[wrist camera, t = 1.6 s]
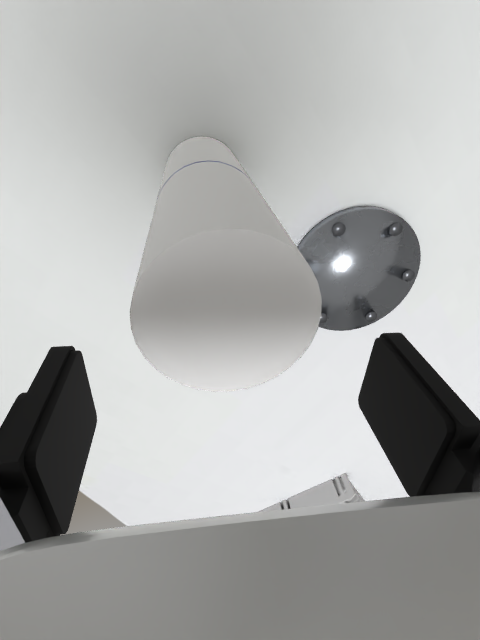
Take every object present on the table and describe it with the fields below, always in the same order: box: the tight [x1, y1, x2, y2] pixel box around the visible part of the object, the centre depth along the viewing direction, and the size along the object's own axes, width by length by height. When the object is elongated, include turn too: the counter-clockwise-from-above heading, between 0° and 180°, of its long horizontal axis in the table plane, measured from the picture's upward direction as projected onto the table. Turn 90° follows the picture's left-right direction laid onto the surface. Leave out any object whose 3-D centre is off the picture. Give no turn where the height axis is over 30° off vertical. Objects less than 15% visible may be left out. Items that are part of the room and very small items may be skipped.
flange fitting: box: [297, 206, 420, 331], centre depth 39 cm, size 23×15×6 cm, turn 88°
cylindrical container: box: [130, 136, 322, 392], centre depth 24 cm, size 7×7×25 cm
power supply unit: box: [259, 473, 364, 512], centre depth 71 cm, size 19×33×5 cm, turn 121°
